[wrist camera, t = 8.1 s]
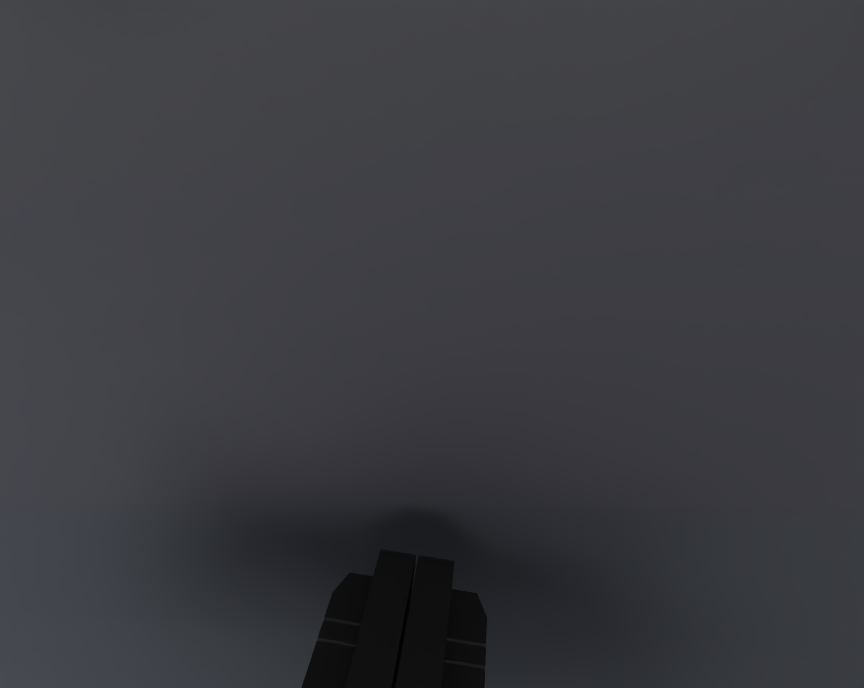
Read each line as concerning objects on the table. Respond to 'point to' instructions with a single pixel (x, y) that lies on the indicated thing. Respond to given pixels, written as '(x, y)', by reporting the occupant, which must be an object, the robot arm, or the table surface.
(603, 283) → the table surface
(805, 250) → the table surface
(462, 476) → the table surface
